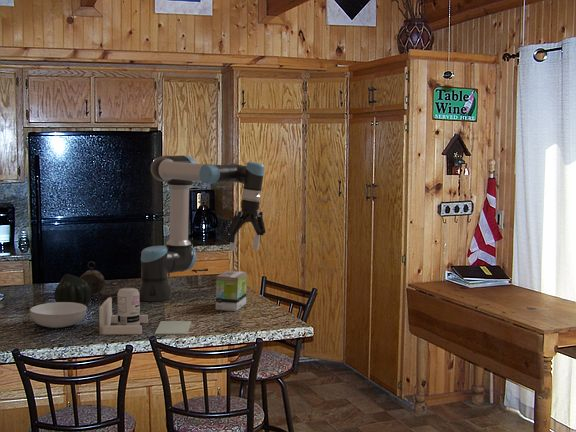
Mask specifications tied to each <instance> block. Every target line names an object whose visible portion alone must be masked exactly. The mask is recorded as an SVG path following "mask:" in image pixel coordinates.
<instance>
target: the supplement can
mask: <svg viewBox="0 0 576 432" xmlns="http://www.w3.org/2000/svg"><path fill="white" fill-rule="evenodd" d="M140 301H141V300H140V296H139V289H138V288H136V287H124V288H123V287H122V288H120V289H119V290H118V292H117V315H118V323H117V326H141V323H140V315H141V314H140V313H141V312H140V310H141V309H140V308H141V307H140V305H141V303H140Z"/></svg>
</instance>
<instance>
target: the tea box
mask: <svg viewBox="0 0 576 432" xmlns="http://www.w3.org/2000/svg"><path fill="white" fill-rule="evenodd" d="M247 275H248V273H247V271H236V270H225V271H224V272H221V273H220V274H218V275H216V279H215V281H216V282H215V283H216V285H215V310H216V311H217V310H218V311H229V312H233V311H234V312H237V311H238V310H239V309H241V308H242V307H243V306H245V305H246V304H247V287H248V284H247V281H248V276H247Z"/></svg>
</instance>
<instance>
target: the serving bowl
mask: <svg viewBox="0 0 576 432" xmlns="http://www.w3.org/2000/svg"><path fill="white" fill-rule="evenodd" d="M87 309H88V307H87V306H86V305H83V304H79V303H72V302H56V301H55V302H49V303H41V304H37V305H35V306H32V307H31V308H30V309H29V314H30V317H31V319H32V320H33V321H34V323H36V324H37V325H39V326H42V327H46V328H50V329H62V328H67V327H71V326H74V325H77V324H78V323H80V322H81V321H83V319H84V318H85V316H86V314H87Z"/></svg>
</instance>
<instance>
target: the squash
mask: <svg viewBox="0 0 576 432" xmlns="http://www.w3.org/2000/svg"><path fill="white" fill-rule="evenodd" d="M53 296H54V300H55V302H72V303H79V304H83V305H85V306H86V305H88V304H89V303H90V301H91V300H92V295H91V289H90V287H89V285H88V284H87V282H86V281H84V280H83V279H81V278H80V277H78V276H76V275H73V274H68V273H65V274H64V275H63V276H62V278H61V280H60V281H59V282H58V284H57V286H56V288H55V290H54V295H53Z"/></svg>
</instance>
